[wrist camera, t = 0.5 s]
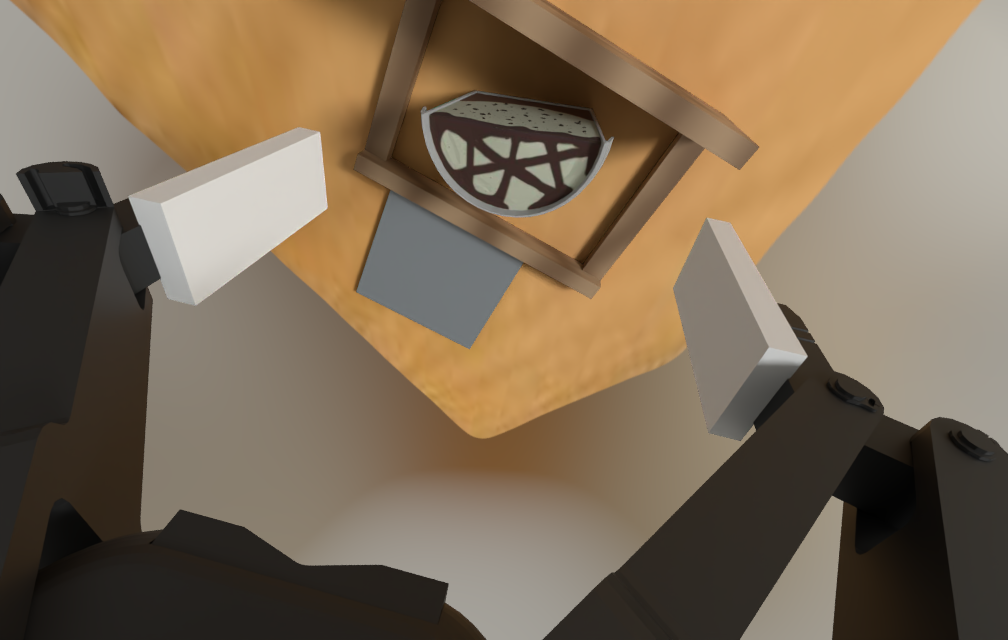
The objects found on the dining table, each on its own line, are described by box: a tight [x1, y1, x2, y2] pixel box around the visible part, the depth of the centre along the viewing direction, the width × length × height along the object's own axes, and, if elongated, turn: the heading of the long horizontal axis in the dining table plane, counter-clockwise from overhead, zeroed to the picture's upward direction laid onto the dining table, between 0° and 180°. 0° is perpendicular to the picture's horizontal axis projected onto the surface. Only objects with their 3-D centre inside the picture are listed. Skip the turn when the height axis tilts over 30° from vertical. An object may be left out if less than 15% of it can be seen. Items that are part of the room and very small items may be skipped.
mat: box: [356, 190, 523, 349], centre depth 45 cm, size 14×14×1 cm
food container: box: [421, 90, 614, 217], centre depth 32 cm, size 12×6×10 cm, turn 83°
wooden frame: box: [354, 0, 759, 299], centre depth 32 cm, size 24×18×9 cm
